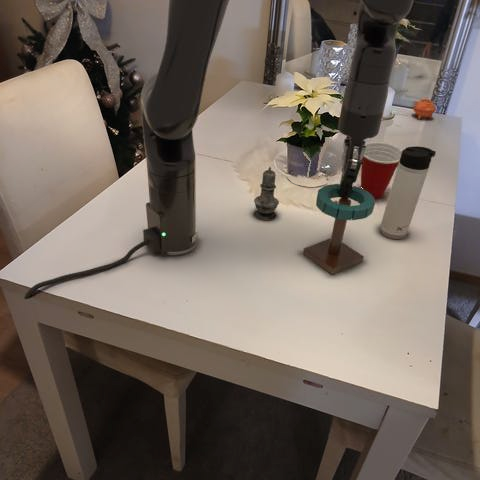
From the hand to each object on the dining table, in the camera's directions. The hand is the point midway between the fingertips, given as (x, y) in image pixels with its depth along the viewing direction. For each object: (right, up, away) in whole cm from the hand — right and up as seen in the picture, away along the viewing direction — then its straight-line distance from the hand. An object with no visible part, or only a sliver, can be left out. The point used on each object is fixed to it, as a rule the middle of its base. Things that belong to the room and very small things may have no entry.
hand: (344, 194), depth 97 cm
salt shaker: (-15, -1, +17) cm, 23 cm away
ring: (-1, -3, -3) cm, 4 cm away
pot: (+45, +48, +78) cm, 102 cm away
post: (-1, -12, +5) cm, 13 cm away
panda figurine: (-3, +13, +34) cm, 37 cm away
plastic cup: (+13, +7, +29) cm, 32 cm away
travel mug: (+15, -5, +15) cm, 21 cm away
